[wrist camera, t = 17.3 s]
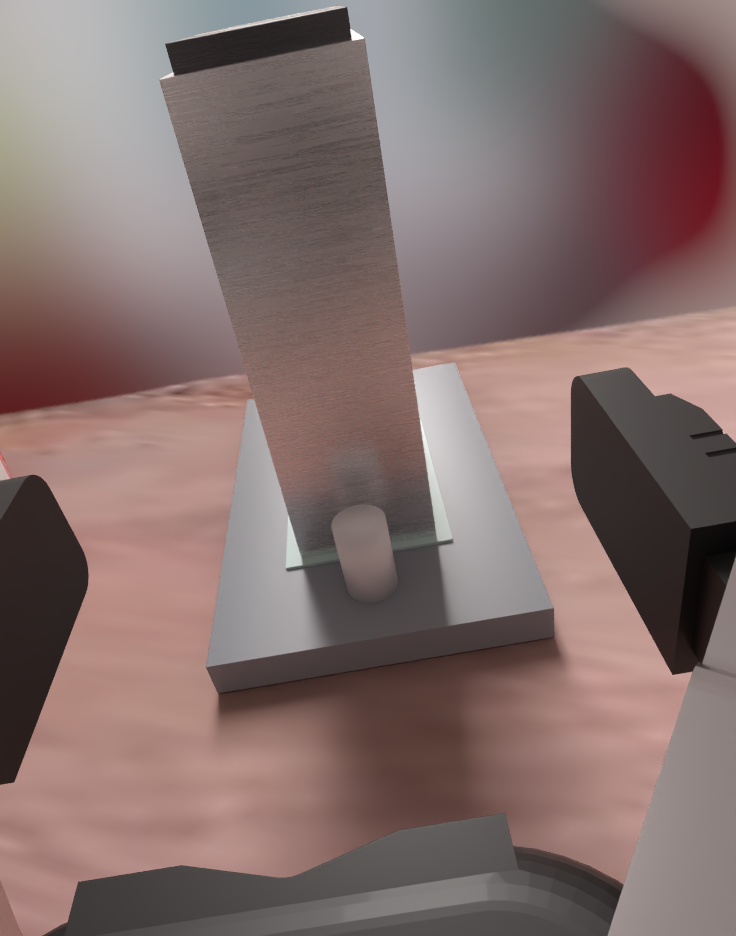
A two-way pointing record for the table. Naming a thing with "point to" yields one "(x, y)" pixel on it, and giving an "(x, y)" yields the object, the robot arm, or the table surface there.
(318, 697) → the table surface
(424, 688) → the table surface
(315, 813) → the table surface
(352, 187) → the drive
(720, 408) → the table surface
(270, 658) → the pin tray
